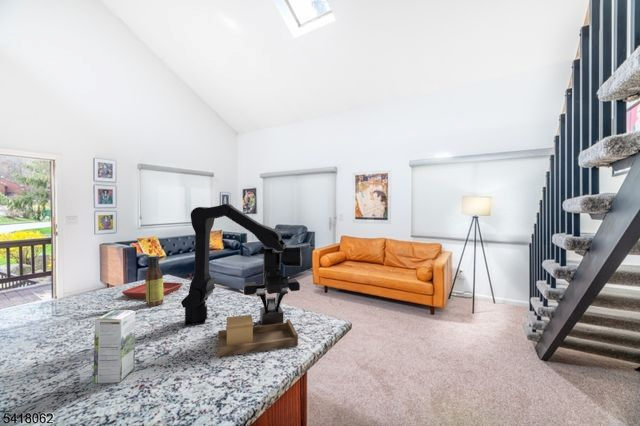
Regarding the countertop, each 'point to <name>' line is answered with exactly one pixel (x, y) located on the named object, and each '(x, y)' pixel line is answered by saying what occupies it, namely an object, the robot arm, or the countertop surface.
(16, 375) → the countertop surface
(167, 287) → the plant saucer
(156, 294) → the sauce bottle
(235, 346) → the bay
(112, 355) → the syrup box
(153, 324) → the countertop surface
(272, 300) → the rounded metal peg
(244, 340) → the tan cardboard box
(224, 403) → the countertop surface
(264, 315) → the square hollow tube
